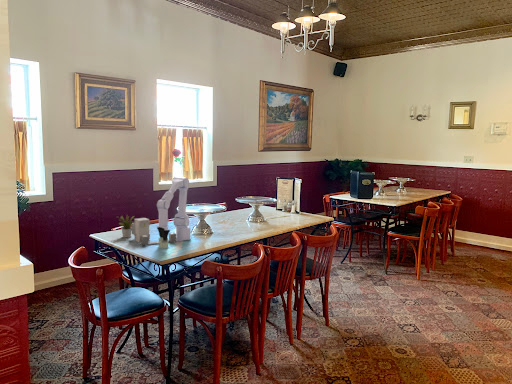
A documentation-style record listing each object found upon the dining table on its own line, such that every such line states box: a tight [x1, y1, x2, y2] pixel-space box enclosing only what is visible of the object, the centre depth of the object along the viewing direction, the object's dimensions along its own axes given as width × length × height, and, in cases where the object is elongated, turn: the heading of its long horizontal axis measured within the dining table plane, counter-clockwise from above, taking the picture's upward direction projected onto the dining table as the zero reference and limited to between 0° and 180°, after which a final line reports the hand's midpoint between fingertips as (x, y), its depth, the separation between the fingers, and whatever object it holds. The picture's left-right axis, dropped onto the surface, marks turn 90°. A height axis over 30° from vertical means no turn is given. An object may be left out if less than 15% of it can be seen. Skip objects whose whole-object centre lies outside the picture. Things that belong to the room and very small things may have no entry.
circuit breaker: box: [131, 217, 151, 243], centre depth 268 cm, size 8×14×15 cm, turn 41°
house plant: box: [117, 214, 135, 238], centre depth 274 cm, size 14×14×16 cm
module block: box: [158, 237, 169, 249], centre depth 250 cm, size 5×5×6 cm
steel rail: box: [139, 239, 178, 247], centre depth 260 cm, size 24×4×1 cm, turn 119°
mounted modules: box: [140, 232, 176, 246], centre depth 260 cm, size 22×5×5 cm, turn 119°
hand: (163, 239), depth 250 cm, fingers open, 7 cm apart
